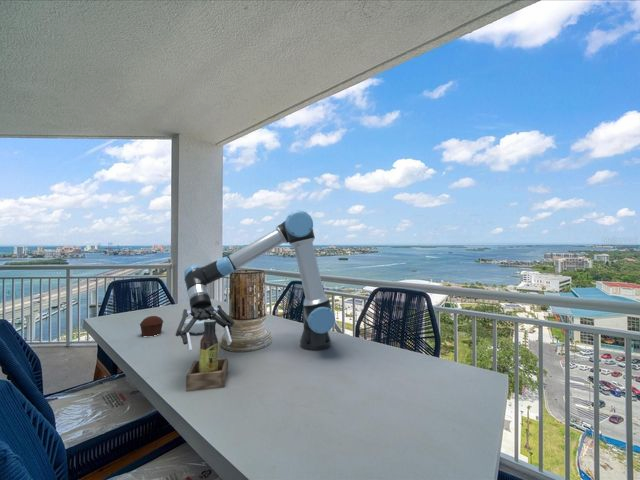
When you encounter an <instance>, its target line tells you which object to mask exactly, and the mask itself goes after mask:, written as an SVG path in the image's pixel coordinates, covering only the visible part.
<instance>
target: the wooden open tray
mask: <svg viewBox="0 0 640 480" xmlns="http://www.w3.org/2000/svg"><path fill="white" fill-rule="evenodd" d="M228 372H229V358H228V357H224V358H218V371H217V372H207V373H199V360H194V361H193V363H192V365H191V366H190V368H189V369H188V372H187V373H186V376H185V381H186V382H185V391H186V392H189V391H190V392H191V391H200V390H208V389H210V390H211V389H217V388H225V385H226V381H227V377H228Z"/></svg>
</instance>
